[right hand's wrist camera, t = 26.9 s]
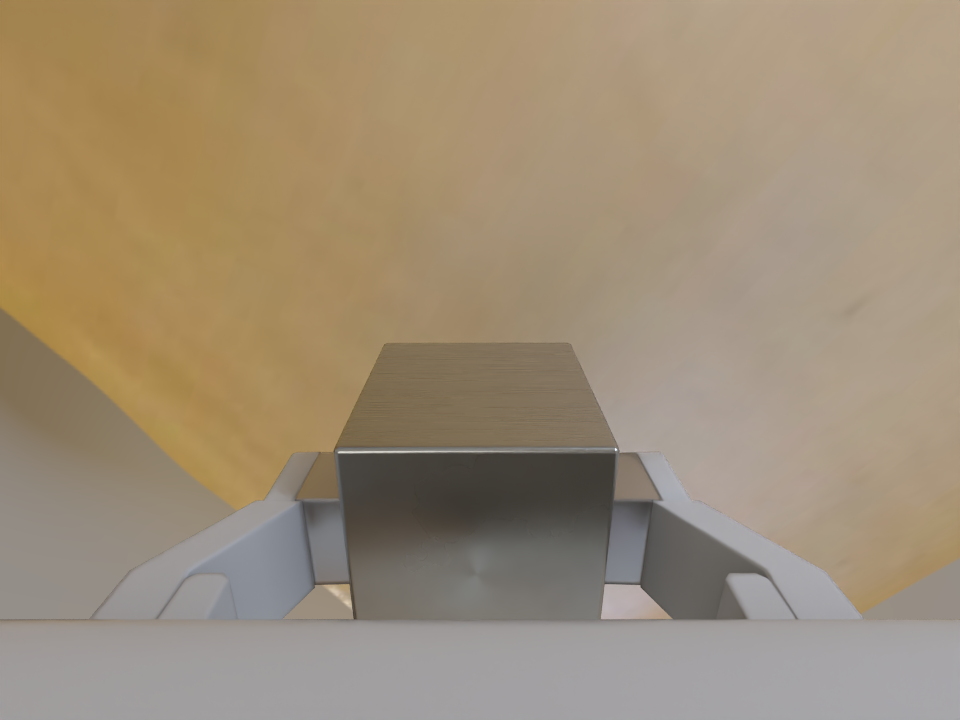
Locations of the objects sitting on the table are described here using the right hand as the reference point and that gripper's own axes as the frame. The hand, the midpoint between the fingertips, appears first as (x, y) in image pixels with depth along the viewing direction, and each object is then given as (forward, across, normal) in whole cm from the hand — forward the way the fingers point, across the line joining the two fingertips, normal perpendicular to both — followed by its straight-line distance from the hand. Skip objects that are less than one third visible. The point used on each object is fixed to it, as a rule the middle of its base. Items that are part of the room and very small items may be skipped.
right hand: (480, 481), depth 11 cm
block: (+2, 0, 0) cm, 2 cm away
